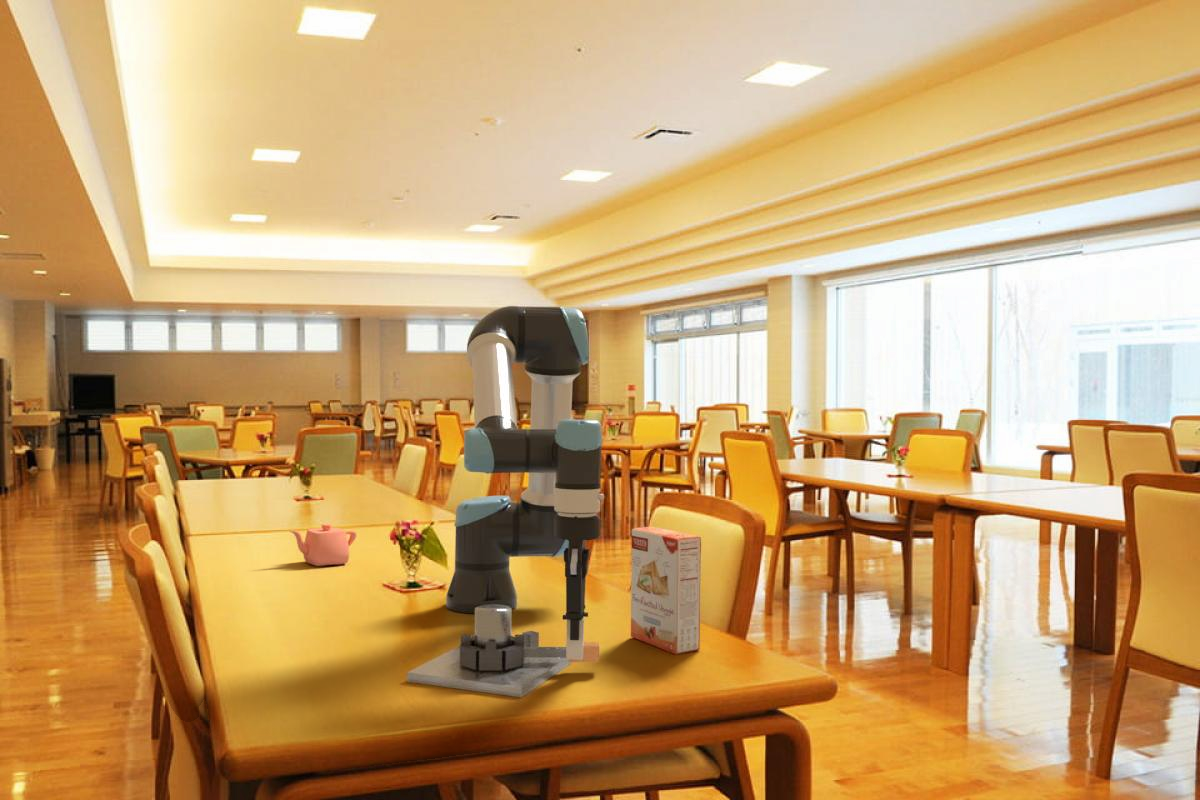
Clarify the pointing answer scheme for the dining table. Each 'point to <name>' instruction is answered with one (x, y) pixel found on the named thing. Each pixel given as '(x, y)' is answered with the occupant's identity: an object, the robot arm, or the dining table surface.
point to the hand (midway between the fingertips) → (574, 658)
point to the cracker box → (666, 589)
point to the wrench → (514, 653)
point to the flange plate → (510, 682)
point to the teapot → (325, 545)
